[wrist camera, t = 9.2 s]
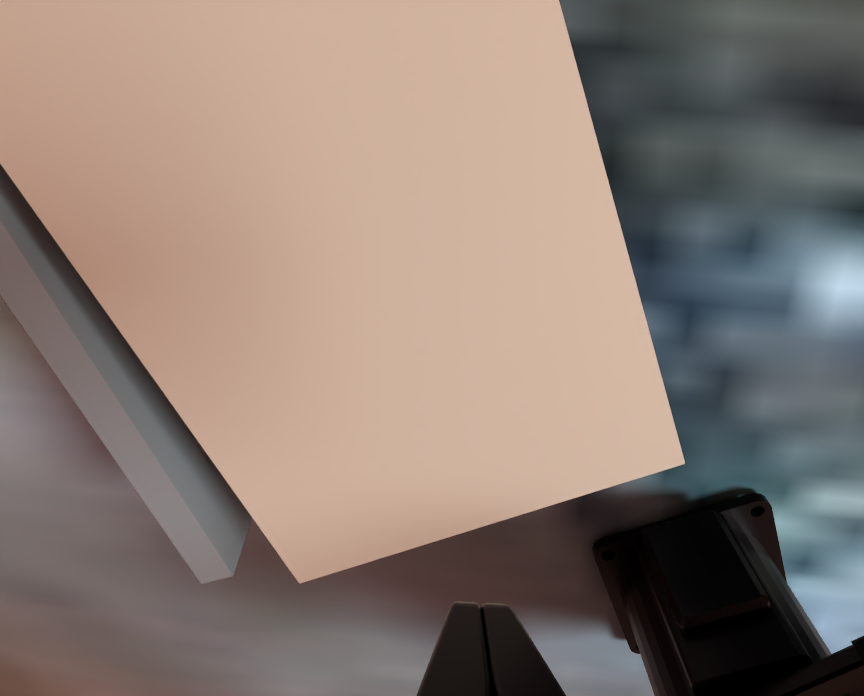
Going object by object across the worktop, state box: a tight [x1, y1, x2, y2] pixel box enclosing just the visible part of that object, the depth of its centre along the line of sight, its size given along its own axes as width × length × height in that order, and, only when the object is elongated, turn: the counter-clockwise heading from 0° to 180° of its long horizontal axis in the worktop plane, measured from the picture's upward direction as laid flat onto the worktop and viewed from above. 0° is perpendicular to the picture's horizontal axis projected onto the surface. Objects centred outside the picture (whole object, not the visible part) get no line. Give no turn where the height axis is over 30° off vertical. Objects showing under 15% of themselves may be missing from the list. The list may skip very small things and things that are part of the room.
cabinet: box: [0, 0, 685, 584], centre depth 15 cm, size 20×11×5 cm, turn 22°
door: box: [0, 164, 252, 584], centre depth 16 cm, size 20×2×5 cm, turn 18°
